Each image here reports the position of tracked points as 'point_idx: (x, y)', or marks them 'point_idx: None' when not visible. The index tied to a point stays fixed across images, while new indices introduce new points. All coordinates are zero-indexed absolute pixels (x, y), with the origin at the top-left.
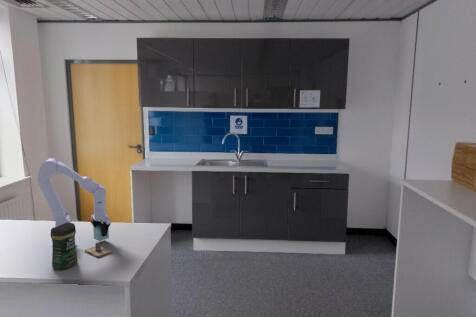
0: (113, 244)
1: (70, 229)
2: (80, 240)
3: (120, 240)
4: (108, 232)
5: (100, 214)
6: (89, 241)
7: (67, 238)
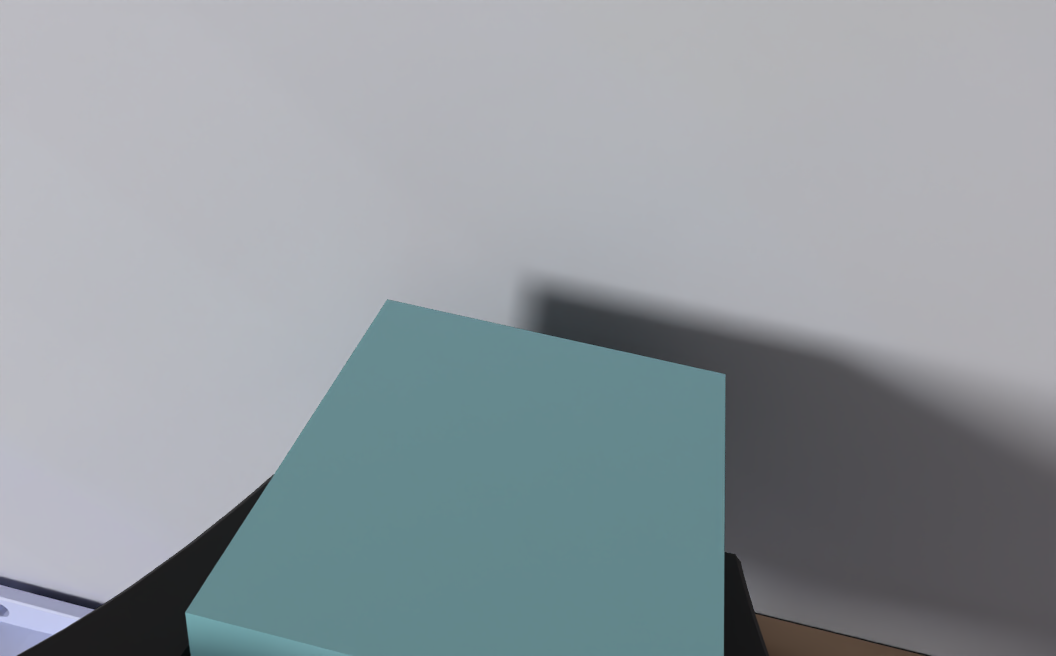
0: (1009, 402)
1: None
2: (80, 479)
3: (1051, 73)
4: (722, 527)
5: None
6: (276, 459)
7: None
